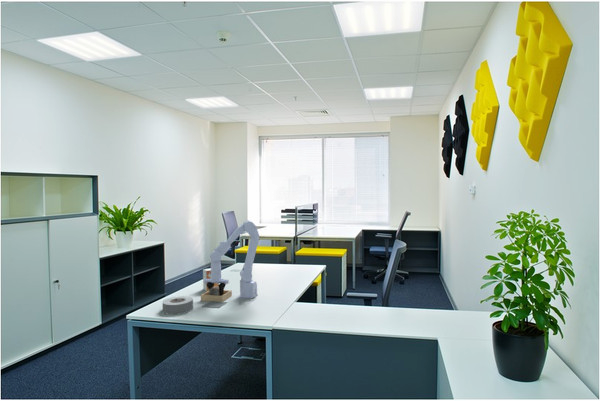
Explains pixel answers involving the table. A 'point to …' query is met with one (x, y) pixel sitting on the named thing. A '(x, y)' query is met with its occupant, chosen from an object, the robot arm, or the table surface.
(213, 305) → the panel
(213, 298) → the shallow wooden tray
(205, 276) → the small box
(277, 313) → the table surface
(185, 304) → the tape roll
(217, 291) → the box
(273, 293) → the table surface
